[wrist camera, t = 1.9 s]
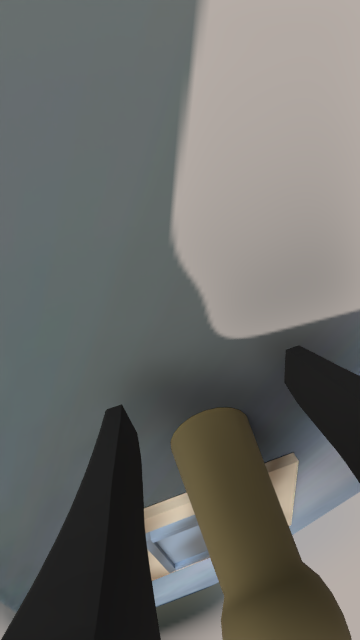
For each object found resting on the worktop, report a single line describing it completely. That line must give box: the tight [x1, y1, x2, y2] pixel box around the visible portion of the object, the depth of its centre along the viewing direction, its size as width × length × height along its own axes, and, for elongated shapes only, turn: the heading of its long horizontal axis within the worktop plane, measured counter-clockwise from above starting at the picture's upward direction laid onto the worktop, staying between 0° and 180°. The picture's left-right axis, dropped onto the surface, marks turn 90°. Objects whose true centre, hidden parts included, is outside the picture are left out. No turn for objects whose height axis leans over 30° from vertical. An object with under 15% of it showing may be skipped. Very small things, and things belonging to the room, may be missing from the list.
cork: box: [171, 408, 351, 640], centre depth 14 cm, size 6×6×11 cm
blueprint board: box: [144, 453, 299, 581], centre depth 26 cm, size 20×16×1 cm
